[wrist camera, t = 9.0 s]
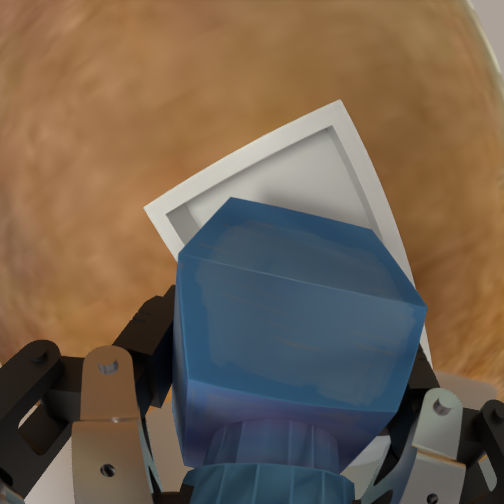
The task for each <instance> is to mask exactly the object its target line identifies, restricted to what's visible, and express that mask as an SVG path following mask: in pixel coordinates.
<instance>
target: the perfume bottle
mask: <svg viewBox="0 0 504 504" xmlns="http://www.w3.org/2000/svg"><path fill="white" fill-rule="evenodd" d="M427 308H428V307H427V306H426V304H425V303H424V301H423V299H422V298H421V296H420V295H419V294H418V292H417V291H416V289H415V288H414V286H413V285H412V283H411V282H410V280H409V279H408V278H407V276H406V275H405V273H404V272H403V270H402V269H401V268H400V266H399V265H398V264H397V262H396V261H395V259H394V258H393V257H392V255H391V254H390V253H389V251H388V250H387V249H386V247H385V246H384V245H383V243H382V242H381V241H380V239H379V238H378V237H377V236H376V234H375V233H374V232H373V230H372V229H368V228H364V227H360V226H356V225H352V224H349V223H345V222H341V221H337V220H333V219H329V218H324V217H320V216H316V215H312V214H308V213H303V212H299V211H295V210H290V209H286V208H282V207H277V206H273V205H268V204H263V203H259V202H254V201H249V200H244V199H240V198H235V197H230V198H229V199H228V200H227V201H226V202H225V203H224V204H223V205H222V206H221V207H220V208H219V209H218V210H217V212H216V213H215V214H214V215H213V216H212V217H211V218H210V219H209V220H208V221H207V222H206V223H205V224H204V226H203V227H202V228H201V229H200V230H199V231H198V232H197V233H196V234H195V235H194V236H193V238H192V239H191V240H190V241H189V242H188V243H187V244H186V245H185V246H184V247H183V249H182V250H181V251H180V252H179V253H178V262H177V275H176V290H175V306H174V327H173V359H172V412H173V417H174V422H175V426H176V432H177V436H178V441H179V445H180V449H181V453H182V458H183V462H184V465H185V466H188V467H192V468H195V469H193V470H190V471H188V473H187V474H186V476H185V478H184V479H183V484H187V485H191V486H194V489H193V493H192V496H191V500H190V503H189V504H352V500H355V490H354V483H353V482H351V481H350V480H349V479H347V478H346V477H345V476H342V475H340V473H341V472H342V471H343V470H344V469H345V468H346V467H347V466H349V465H350V464H351V463H352V462H353V461H354V460H355V459H356V458H357V457H358V456H359V454H360V453H361V452H362V451H363V450H364V449H365V448H366V447H367V446H368V445H369V444H370V443H371V442H372V441H373V440H374V438H375V437H376V436H377V435H378V434H379V433H380V432H381V431H382V429H383V428H384V427H385V426H386V425H387V424H388V422H389V421H390V420H391V419H392V418H393V416H394V415H395V414H396V413H397V411H398V408H399V406H400V403H401V400H402V397H403V394H404V392H405V389H406V386H407V383H408V380H409V377H410V373H411V370H412V367H413V364H414V360H415V357H416V353H417V349H418V346H419V342H420V338H421V334H422V330H423V326H424V322H425V317H426V312H427Z"/></svg>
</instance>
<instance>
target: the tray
mask: <svg viewBox="0 0 504 504" xmlns="http://www.w3.org/2000/svg"><path fill="white" fill-rule="evenodd" d="M230 197H235V198H240V199H244V200H249V201H254V202H259V203H263V204H268V205H273V206H277V207H282V208H286V209H290V210H295V211H299V212H303V213H308V214H312V215H316V216H320V217H324V218H329V219H333V220H337V221H341V222H345V223H349V224H352V225H356V226H360V227H364V228H368V229H372V230H373V232H374V233H375V234H376V236H377V237H378V238H379V239H380V241H381V242H382V243H383V245H384V246H385V247H386V249H387V250H388V251H389V253H390V254H391V255H392V257H393V258H394V259H395V261H396V262H397V264H398V265H399V266H400V268H401V269H402V270H403V272H404V273H405V275H406V276H407V278H408V279H409V280H410V282H411V283H412V285H413V286H414V288H415V289H416V287H415V283H414V280H413V276H412V273H411V269H410V266H409V262H408V259H407V256H406V253H405V249H404V246H403V243H402V240H401V237H400V234H399V231H398V228H397V225H396V222H395V220H394V217H393V214H392V211H391V209H390V206H389V203H388V201H387V198H386V196H385V193H384V191H383V188H382V186H381V183H380V181H379V178H378V176H377V174H376V171H375V169H374V167H373V164H372V162H371V160H370V158H369V155H368V153H367V151H366V149H365V147H364V145H363V142H362V140H361V138H360V136H359V134H358V132H357V130H356V128H355V126H354V124H353V122H352V120H351V118H350V116H349V114H348V112H347V110H346V109H345V107H344V105H343V103H342V101H341V99H340V100H337V101H335V102H333V103H330V104H328V105H326V106H324V107H322V108H319V109H317V110H315V111H313V112H311V113H309V114H306V115H304V116H302V117H300V118H298V119H296V120H294V121H292V122H290V123H288V124H286V125H284V126H282V127H280V128H278V129H276V130H274V131H272V132H270V133H268V134H266V135H264V136H262V137H260V138H259V139H257V140H255V141H253V142H251V143H249V144H247V145H246V146H244V147H242V148H240V149H238V150H236V151H235V152H233V153H231V154H229V155H228V156H226V157H224V158H222V159H221V160H219V161H217V162H215V163H214V164H212V165H210V166H208V167H207V168H205V169H203V170H202V171H200V172H198V173H197V174H195V175H193V176H192V177H190V178H189V179H187V180H185V181H184V182H182V183H180V184H179V185H177V186H176V187H174V188H173V189H171V190H169V191H168V192H166V193H165V194H163V195H162V196H160V197H159V198H157V199H156V200H154V201H152V202H151V203H149V204H148V205H146V206H145V207H143V208H144V209H145V211H146V213H147V214H148V216H149V218H150V219H151V221H152V223H153V224H154V226H155V228H156V229H157V231H158V232H159V234H160V236H161V237H162V239H163V240H164V242H165V244H166V245H167V247H168V248H169V250H170V252H171V253H172V255H173V256H174V258H175V259H176V261H177V262H178V253H179V252H180V251H181V250H182V249H183V247H184V246H185V245H186V244H187V243H188V242H189V241H190V240H191V239H192V238H193V236H194V235H195V234H196V233H197V232H198V231H199V230H200V229H201V228H202V227H203V226H204V224H205V223H206V222H207V221H208V220H209V219H210V218H211V217H212V216H213V215H214V214H215V213H216V212H217V210H218V209H219V208H220V207H221V206H222V205H223V204H224V203H225V202H226V201H227V200H228V199H229V198H230ZM420 344H421V346H422V348H423V350H424V351H423V352H425V355H426V357H427V361H429V363H430V365H431V368H432V362H431V356H430V350H429V344H428V339H427V334H426V329H425V325H424V326H423V330H422V334H421V338H420ZM432 370H433V368H432Z"/></svg>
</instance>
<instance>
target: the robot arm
mask: <svg viewBox="0 0 504 504" xmlns="http://www.w3.org/2000/svg"><path fill="white" fill-rule="evenodd" d="M175 290H176V285H172V286H171V287H170V288H169V290H168V291H167V292H166V294H165V295H164V297H161V296H157V295H156V296H155V297H153V298H151V299H149V300H148V301H146V302H145V303H144V304H143V305H142V307H141V308H140V309H139V310H138V313H136V314H135V315H134V317H133V319H132V320H131V321H130V322H129V323H128V324H127V326H126V327H125V328H124V330H123V331H122V332H121V334H120V335H119V336H118V338H117V339H116V340H115V342H114V343H113V344H112V345H107V346H101V347H98V348H95V349H94V350H92V351H91V352H89V353H88V354H87V356H86V357H85V358H79V357H68V356H61V353H60V350H59V348H58V346H57V345H56V344H55V343H54V342H52V341H49V340H36V341H33V342H31V343H29V344H27V345H26V346H25V347H23V348H22V349H21V350H20V351H19V352H18V353H17V354H16V355H14V356H13V357H12V358H11V359H10V360H9V361H8V362H7V363H5V364H4V365H3V366H2V367H1V368H0V504H25V502H24V499H25V497H26V496H27V495H28V493H29V492H30V491H31V489H32V488H33V486H34V485H35V484H36V482H37V481H38V480H39V478H40V477H41V476H42V474H43V473H44V472H45V470H46V469H47V467H48V466H49V465H50V463H51V462H52V461H53V459H54V458H55V457H56V455H57V454H58V453H59V451H60V450H61V449H62V447H63V446H64V445H65V444H66V442H67V441H68V440H69V438H70V437H71V436H72V472H73V487H74V498H75V504H189V503H190V500H191V496H192V493H193V489H194V486H191V485H187V484H183V483H182V485H181V489H180V492H163V488H162V485H161V481H160V478H159V475H158V472H157V468H156V464H155V460H154V456H153V452H152V446H151V441H150V436H149V431H148V426H147V420H146V416H145V415H146V413H147V411H148V409H149V406H150V405H151V406H154V407H158V408H161V407H162V405H163V402H164V400H165V398H166V396H167V393H168V391H169V389H170V387H171V384H172V359H173V327H174V306H175ZM423 351H424V350H423V348H422V346H421V344H420V342H419V346H418V349H417V353H416V357H415V360H414V364H413V367H412V370H411V373H410V377H409V380H408V383H407V386H406V389H405V392H404V394H403V397H402V400H401V403H400V406H399V408H398V411H397V413H396V414H395V415H394V416H393V418H392V419H391V420H390V421H389V422H388V424H387V425H386V426H385V427H384V428H383V429H382V431H381V432H380V433H379V434H378V435H377V436H390V440H391V441H390V442H389V444H388V445H387V446H386V448H385V450H384V453H383V455H382V457H381V460H380V462H379V465H378V467H377V469H376V471H375V473H374V475H373V478H372V480H371V482H370V484H369V486H368V488H367V490H366V491H365V493H364V494H363V496H362V497H361V498H360V499H359V500H352V504H504V403H502V402H501V401H498V400H489V401H487V402H486V403H485V404H484V405H483V407H482V408H481V409H480V410H474V409H469V408H463V407H462V404H461V401H460V400H459V398H458V397H457V396H456V395H455V394H454V393H452V392H451V391H449V390H447V389H443V388H440V386H439V383H438V381H437V379H436V376H435V374H434V372H433V370H432V368H431V365H430V363H429V361H427V357H426V355H425V352H423ZM38 401H40V403H41V404H40V405H39V406H38V407H37V408H36V410H35V411H34V412H33V413H32V414H31V415H30V416H29V417H28V418H27V420H26V421H25V422H24V423H23V424H22V425H21V426H20V427H19V429H18V426H19V423H20V421H21V419H22V418H23V417H24V416H25V415H26V414H27V413H28V411H29V410H30V409H31V408H32V407H33V406H34V405H35V404H36V403H37V402H38ZM486 453H487V456H488V458H489V460H490V462H491V465H492V467H493V469H494V472H495V474H496V477H497V484H496V487H495V488H494V490H493V491H492V492H491V491H490V490H489V488H488V486H487V483H486V481H485V478H484V476H483V473H482V471H481V468H480V466H479V464H478V461H479V460H480V459H481V458H482V457H483V456H484V455H485V454H486Z"/></svg>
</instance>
